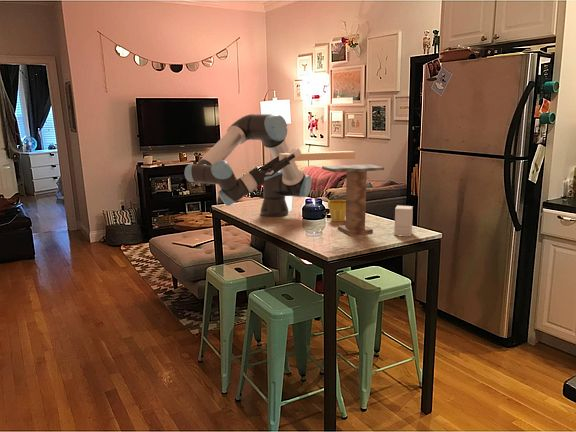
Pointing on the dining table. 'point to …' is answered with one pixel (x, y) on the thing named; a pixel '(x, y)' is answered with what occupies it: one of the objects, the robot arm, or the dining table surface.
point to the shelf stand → (355, 196)
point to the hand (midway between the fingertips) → (297, 150)
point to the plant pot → (337, 210)
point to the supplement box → (403, 220)
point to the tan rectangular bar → (321, 156)
